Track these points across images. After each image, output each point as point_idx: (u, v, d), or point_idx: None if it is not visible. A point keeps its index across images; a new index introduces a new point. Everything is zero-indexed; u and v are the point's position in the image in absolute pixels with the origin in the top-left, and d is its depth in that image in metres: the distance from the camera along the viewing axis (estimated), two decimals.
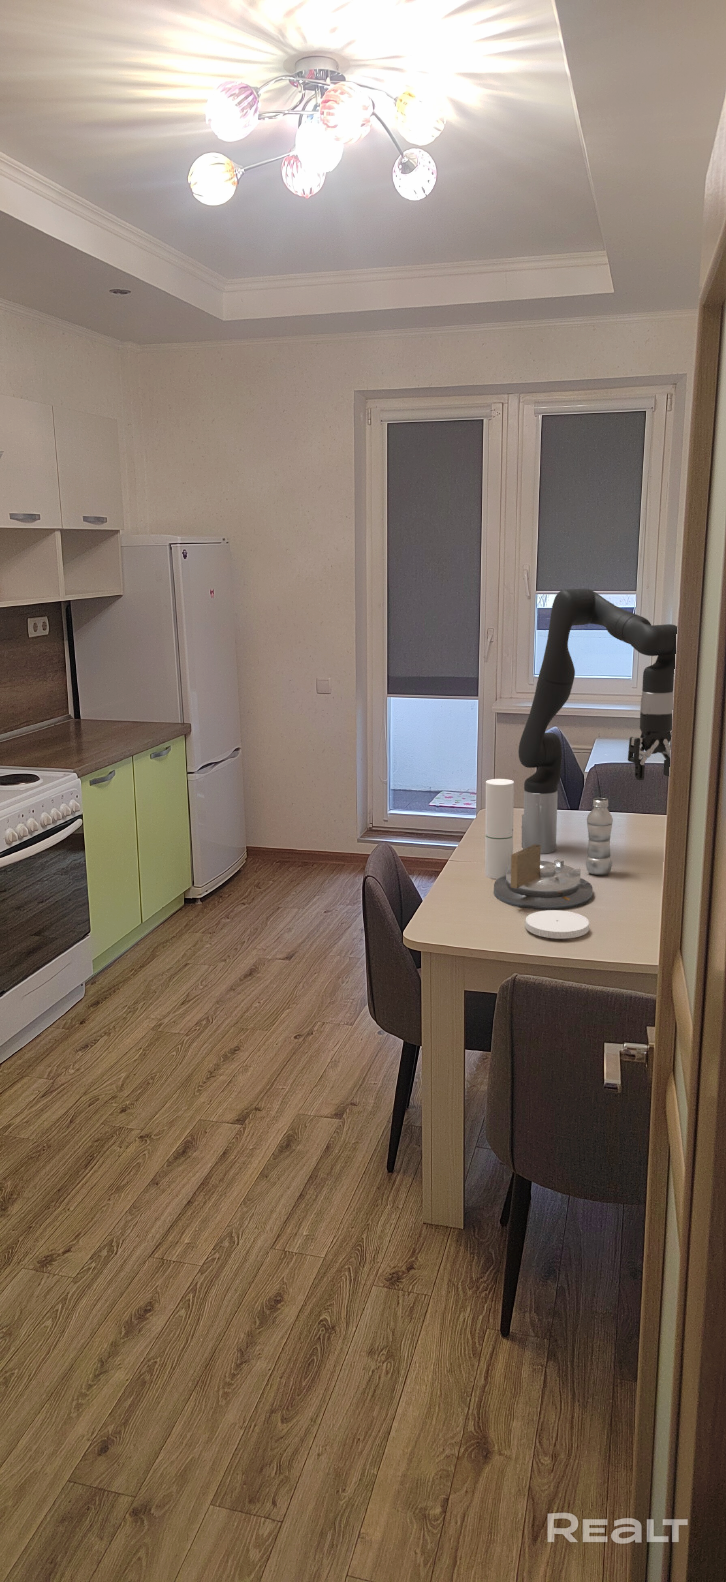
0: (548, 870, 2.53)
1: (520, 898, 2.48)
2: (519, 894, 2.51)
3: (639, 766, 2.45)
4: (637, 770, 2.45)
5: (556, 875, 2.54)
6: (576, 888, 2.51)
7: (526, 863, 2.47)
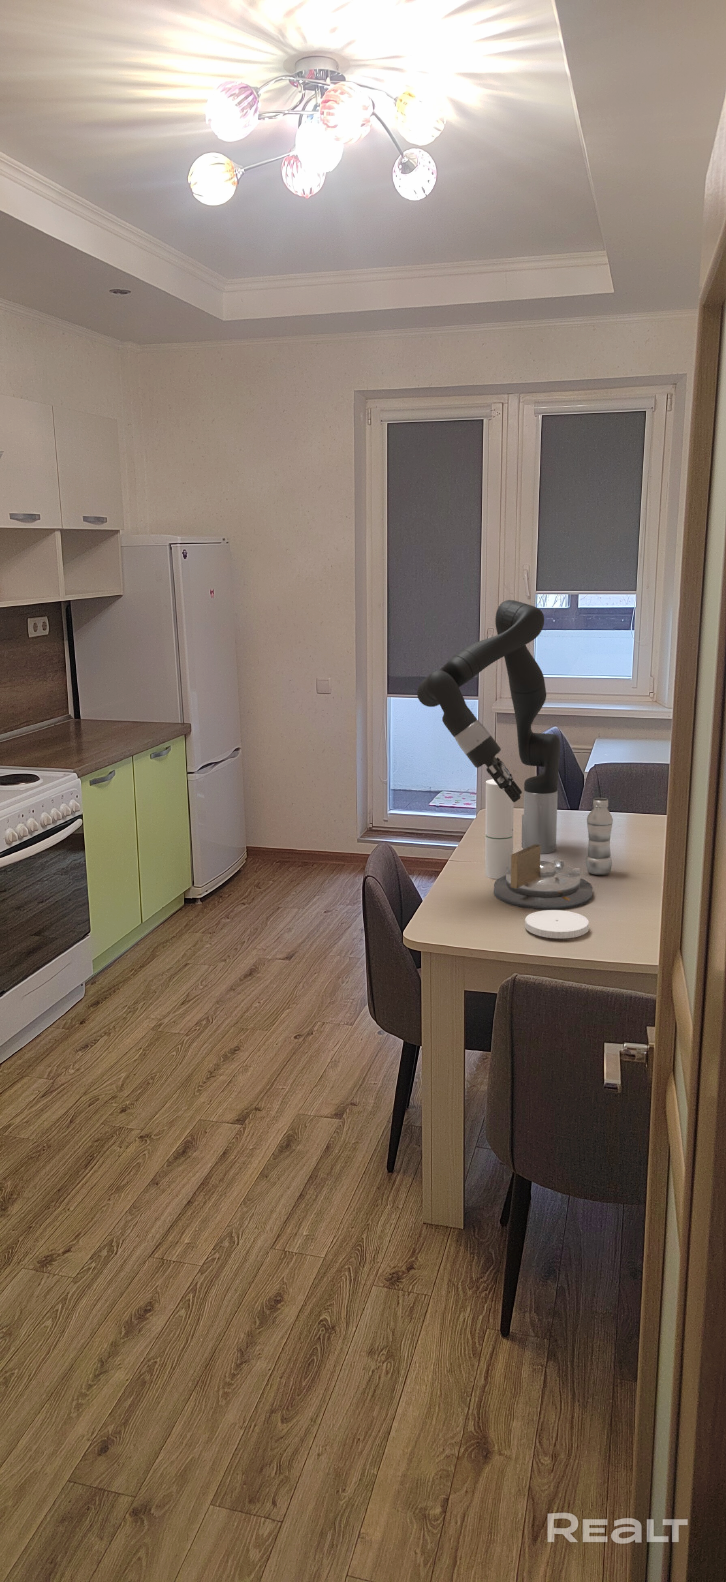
0: (548, 870, 2.53)
1: (520, 898, 2.48)
2: (519, 894, 2.51)
3: None
4: None
5: (556, 875, 2.54)
6: (576, 888, 2.51)
7: (526, 863, 2.47)
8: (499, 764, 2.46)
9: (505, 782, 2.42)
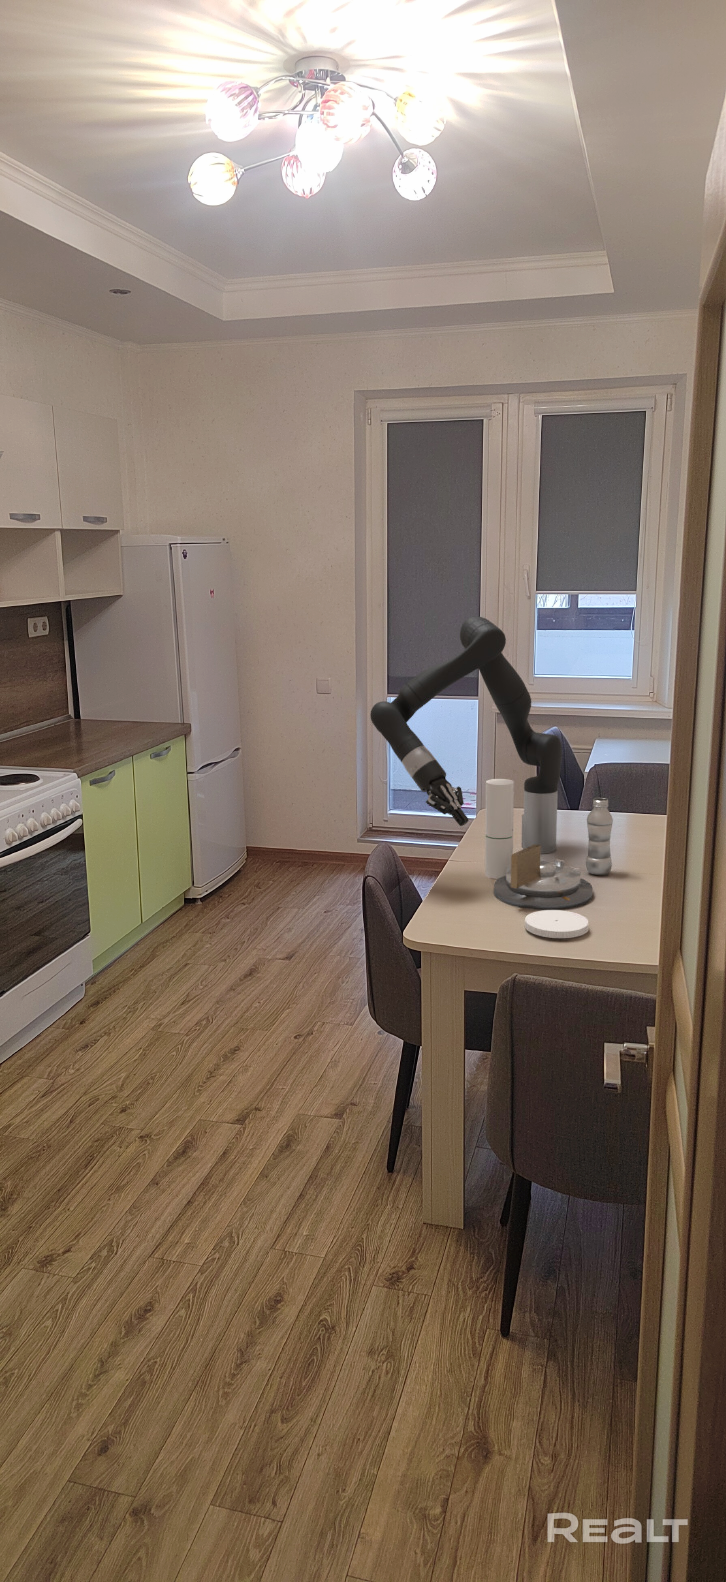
0: (548, 870, 2.53)
1: (520, 898, 2.48)
2: (519, 894, 2.51)
3: None
4: None
5: (556, 875, 2.54)
6: (576, 888, 2.51)
7: (526, 863, 2.47)
8: (440, 790, 2.54)
9: (446, 808, 2.52)
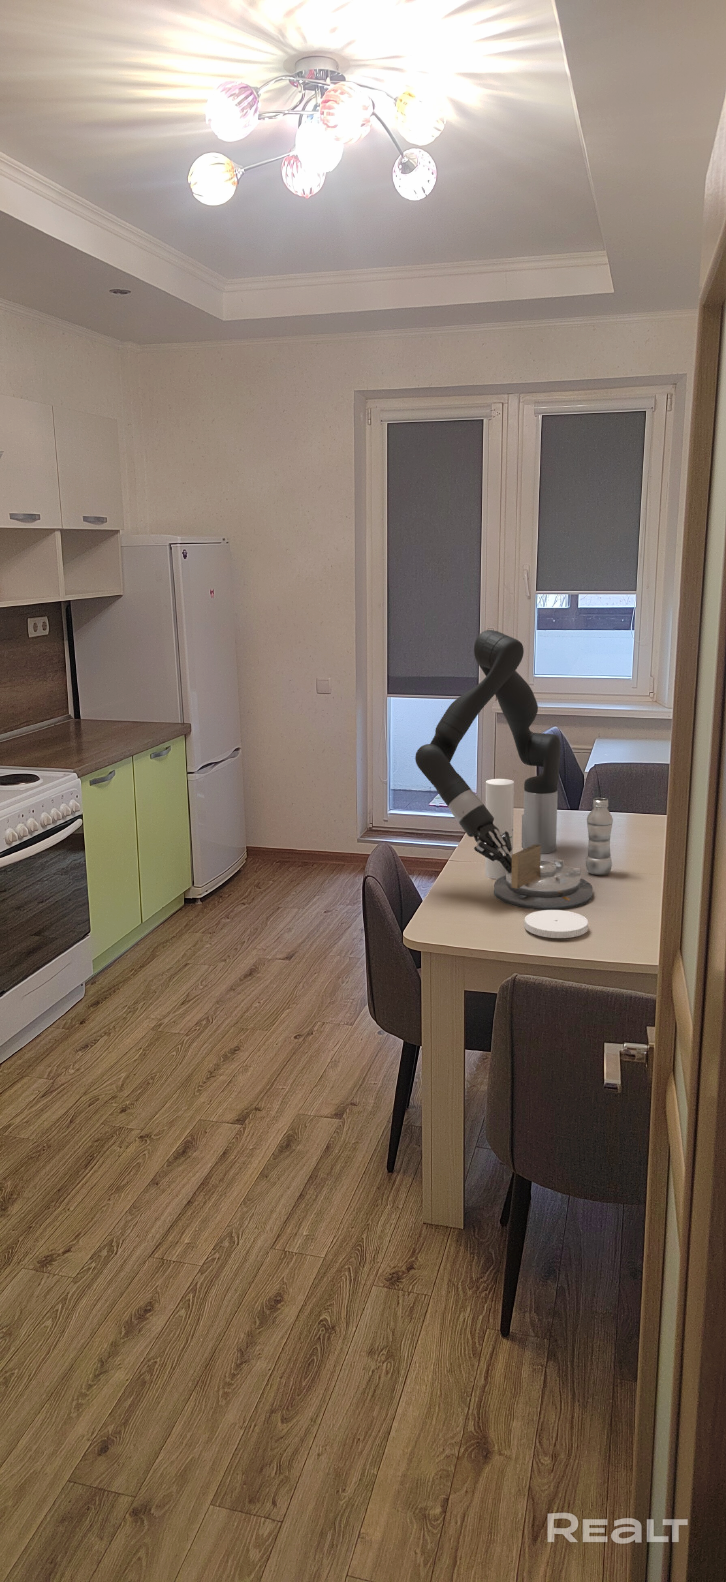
0: (548, 870, 2.53)
1: (520, 898, 2.48)
2: (519, 894, 2.51)
3: None
4: None
5: (556, 875, 2.54)
6: (576, 888, 2.51)
7: (527, 863, 2.47)
8: (488, 836, 2.47)
9: (495, 854, 2.45)
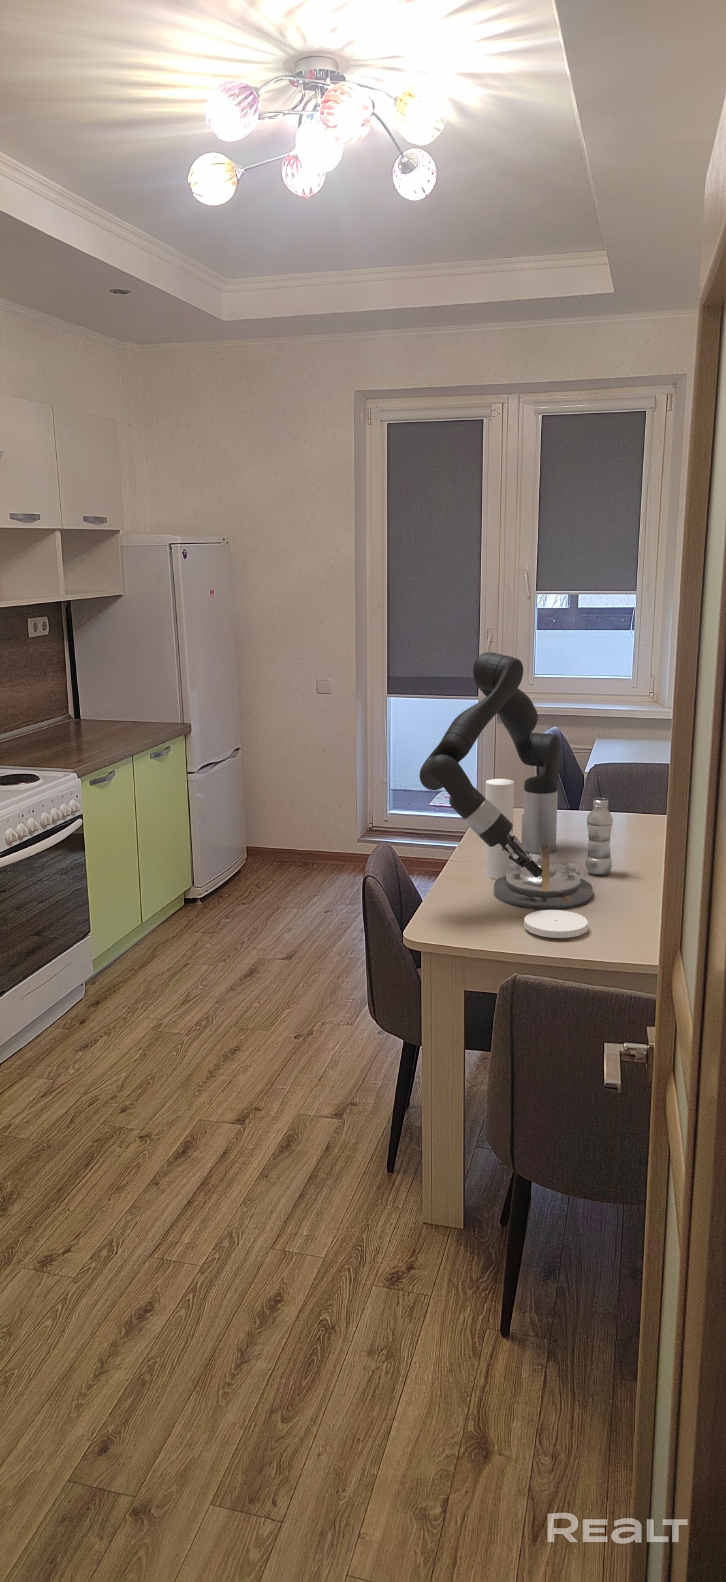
0: (553, 869, 2.53)
1: (520, 898, 2.48)
2: (519, 894, 2.51)
3: None
4: None
5: (557, 873, 2.56)
6: None
7: None
8: (515, 843, 2.41)
9: (526, 861, 2.40)
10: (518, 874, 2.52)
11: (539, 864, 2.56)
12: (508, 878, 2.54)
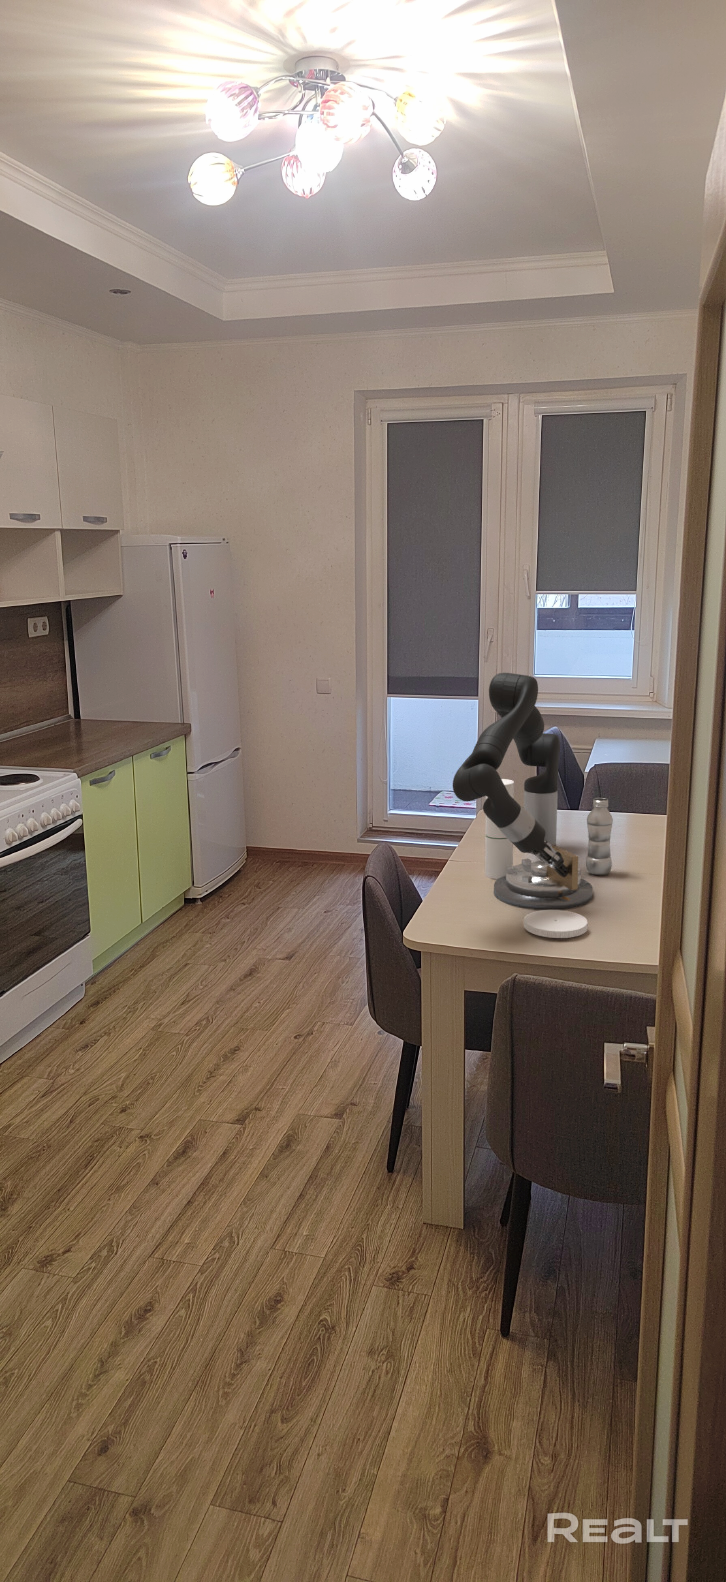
0: None
1: (520, 898, 2.48)
2: (519, 894, 2.51)
3: None
4: None
5: None
6: None
7: None
8: (548, 845, 2.38)
9: (561, 862, 2.39)
10: (531, 877, 2.49)
11: (539, 865, 2.55)
12: (519, 883, 2.50)
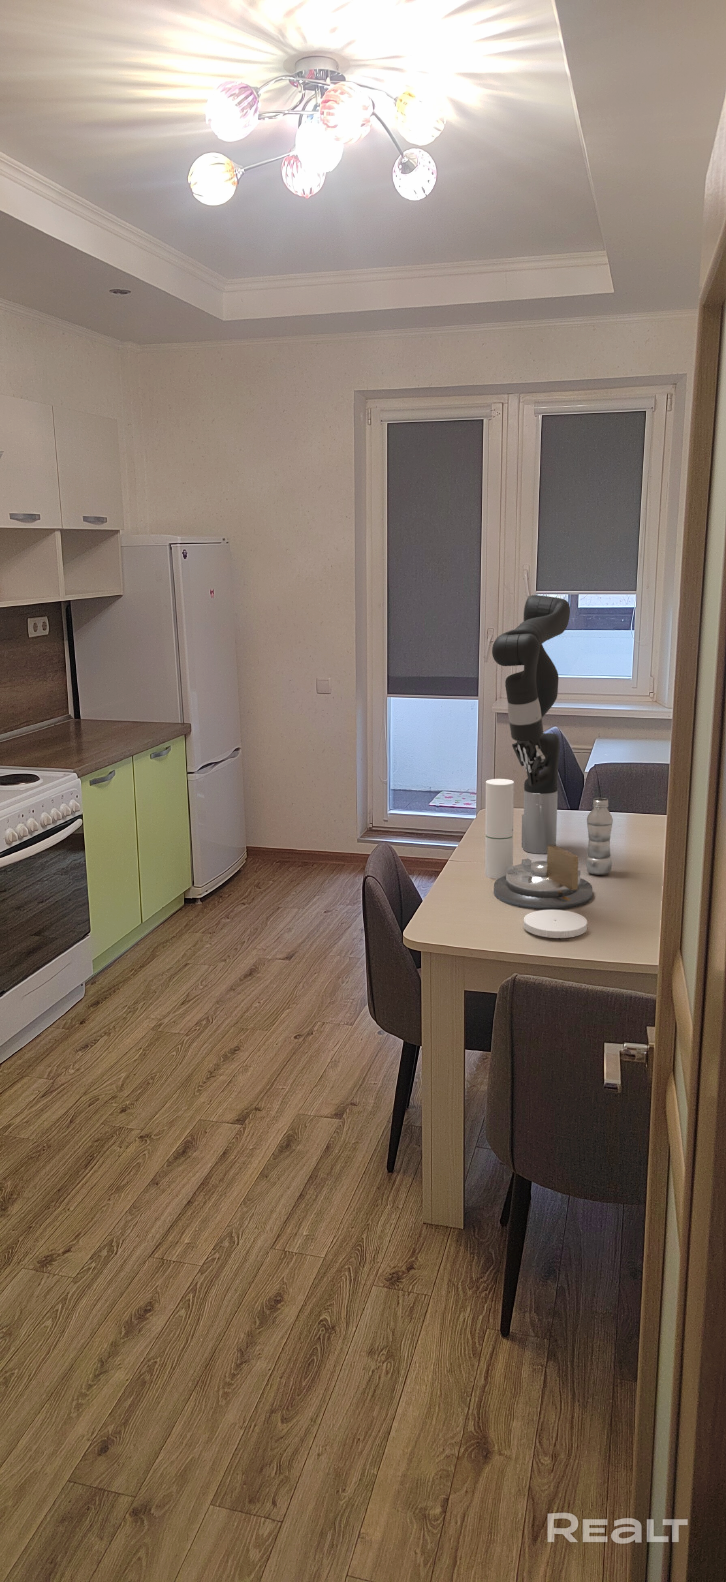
0: None
1: (520, 898, 2.48)
2: (519, 894, 2.51)
3: (527, 771, 2.48)
4: None
5: None
6: None
7: None
8: None
9: (540, 767, 2.44)
10: (531, 877, 2.49)
11: (539, 865, 2.55)
12: (519, 883, 2.50)
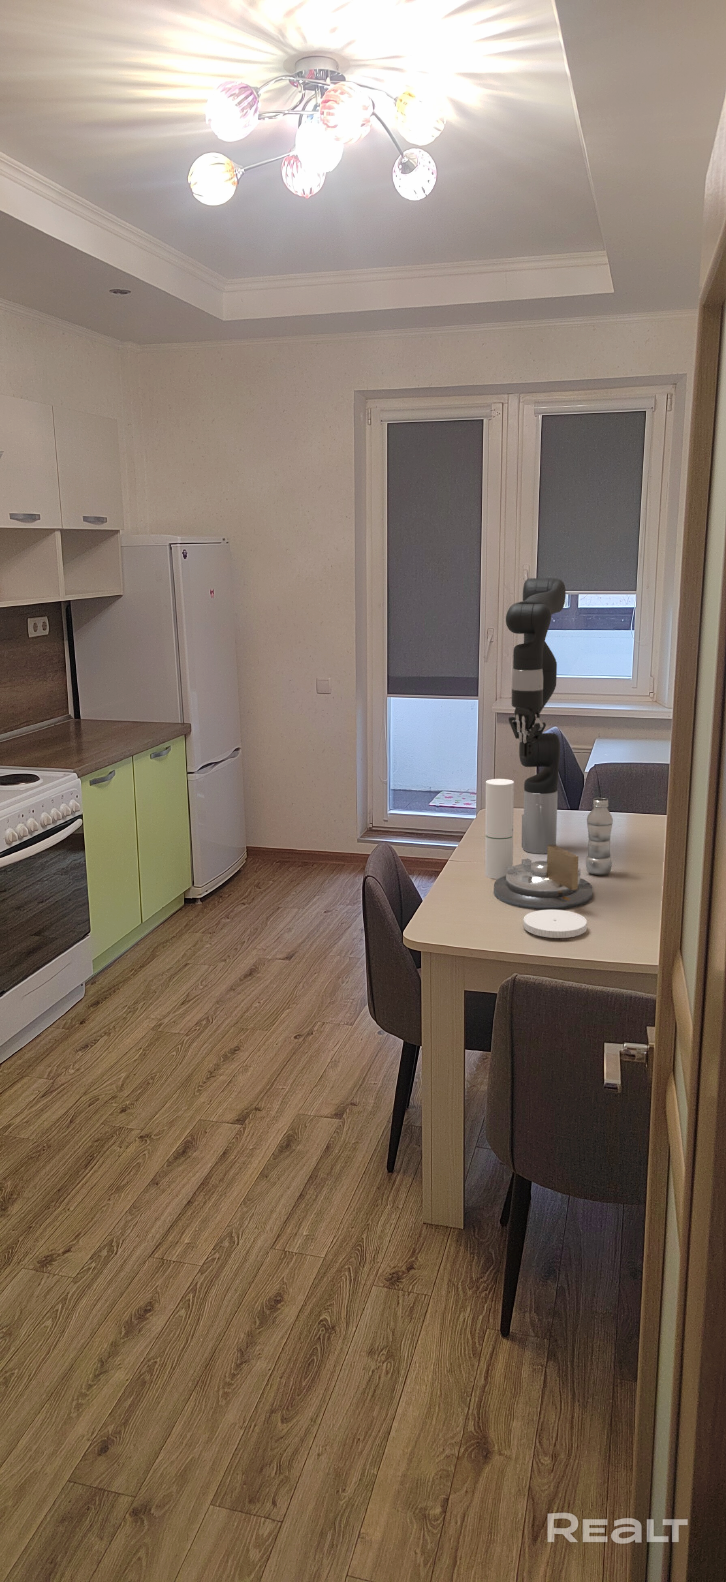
0: None
1: (520, 898, 2.48)
2: (519, 894, 2.51)
3: (521, 743, 2.57)
4: None
5: None
6: None
7: None
8: None
9: (536, 738, 2.53)
10: (531, 877, 2.49)
11: (539, 865, 2.55)
12: (519, 883, 2.50)
